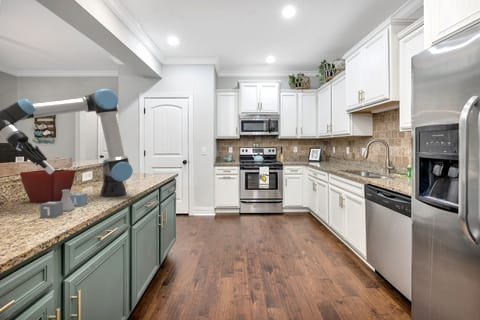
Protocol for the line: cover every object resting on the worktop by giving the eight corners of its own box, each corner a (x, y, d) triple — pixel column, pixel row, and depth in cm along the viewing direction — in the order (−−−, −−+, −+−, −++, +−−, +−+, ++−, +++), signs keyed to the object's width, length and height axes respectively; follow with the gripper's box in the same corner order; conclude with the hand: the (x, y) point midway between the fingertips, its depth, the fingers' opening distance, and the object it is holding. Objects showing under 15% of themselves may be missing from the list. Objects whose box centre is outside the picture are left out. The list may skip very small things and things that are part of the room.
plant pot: (46, 196, 164) (45, 169, 164) (76, 197, 164) (76, 169, 163) (19, 203, 145) (18, 172, 145) (53, 204, 145) (53, 172, 144)
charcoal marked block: (49, 214, 123) (49, 201, 123) (62, 214, 123) (62, 201, 123) (40, 218, 117) (39, 204, 117) (54, 218, 117) (54, 204, 117)
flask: (78, 208, 135) (78, 189, 134) (68, 212, 127) (68, 191, 127) (64, 208, 135) (63, 188, 135) (53, 211, 128) (53, 191, 127)
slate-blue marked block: (75, 204, 145) (75, 193, 145) (87, 204, 145) (87, 193, 145) (69, 206, 139) (68, 195, 139) (81, 206, 139) (80, 195, 139)
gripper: (19, 142, 134) (54, 176, 136) (-3, 142, 121) (37, 179, 123) (30, 132, 134) (65, 165, 136) (9, 130, 121) (49, 167, 123)
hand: (52, 172), depth 130 cm, fingers closed
